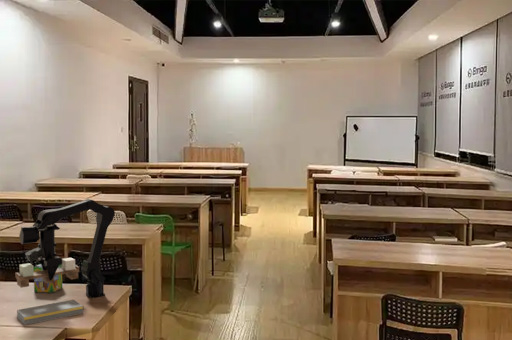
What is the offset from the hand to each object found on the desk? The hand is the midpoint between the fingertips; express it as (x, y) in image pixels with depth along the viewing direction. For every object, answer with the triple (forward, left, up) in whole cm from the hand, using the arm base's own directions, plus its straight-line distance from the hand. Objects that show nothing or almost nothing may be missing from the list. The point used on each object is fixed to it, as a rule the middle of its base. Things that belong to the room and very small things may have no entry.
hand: (48, 278), depth 228 cm
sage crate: (+9, 0, +3) cm, 9 cm away
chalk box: (-6, -20, -11) cm, 24 cm away
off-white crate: (-8, 0, +3) cm, 9 cm away
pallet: (0, 0, -1) cm, 1 cm away
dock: (+4, +15, -11) cm, 19 cm away
